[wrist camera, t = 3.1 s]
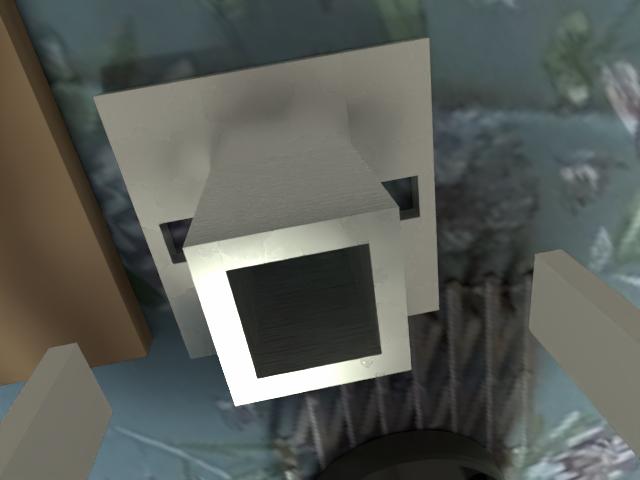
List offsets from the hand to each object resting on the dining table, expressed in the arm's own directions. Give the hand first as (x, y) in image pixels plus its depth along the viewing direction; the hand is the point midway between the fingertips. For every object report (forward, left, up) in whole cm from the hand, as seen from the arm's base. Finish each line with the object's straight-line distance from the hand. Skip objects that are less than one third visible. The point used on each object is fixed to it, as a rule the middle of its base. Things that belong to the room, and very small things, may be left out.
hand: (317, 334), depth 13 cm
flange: (0, 0, -10) cm, 10 cm away
